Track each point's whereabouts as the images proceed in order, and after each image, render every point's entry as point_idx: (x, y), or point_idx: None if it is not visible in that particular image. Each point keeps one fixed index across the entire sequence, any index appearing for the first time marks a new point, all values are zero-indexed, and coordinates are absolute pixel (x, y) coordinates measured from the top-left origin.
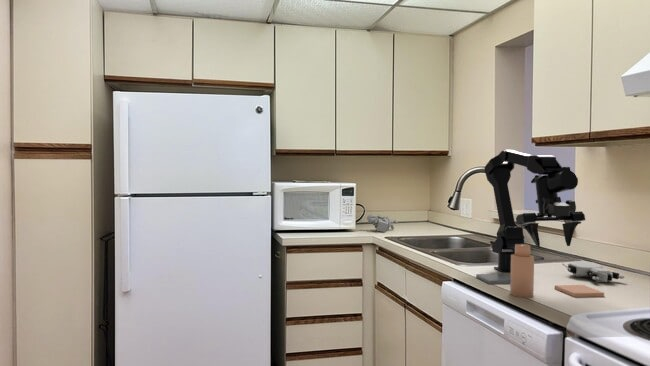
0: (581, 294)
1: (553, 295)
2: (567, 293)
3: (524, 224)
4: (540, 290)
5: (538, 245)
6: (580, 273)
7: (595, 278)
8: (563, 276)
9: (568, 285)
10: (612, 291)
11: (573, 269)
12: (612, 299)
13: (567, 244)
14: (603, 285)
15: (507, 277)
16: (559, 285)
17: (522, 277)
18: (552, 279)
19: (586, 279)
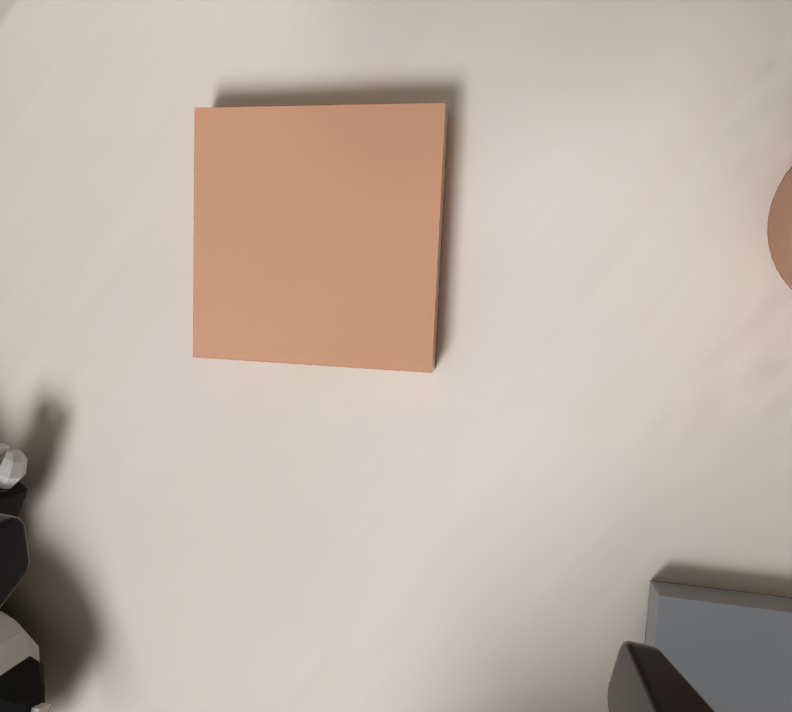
0: (385, 106)
1: (588, 174)
2: (442, 201)
3: None
4: (591, 337)
5: (667, 661)
6: (12, 630)
7: (12, 451)
8: (118, 697)
9: (318, 354)
10: (62, 245)
11: (23, 686)
12: (207, 33)
13: (3, 569)
14: (14, 407)
15: None
16: (394, 362)
17: None
18: (257, 636)
19: None
